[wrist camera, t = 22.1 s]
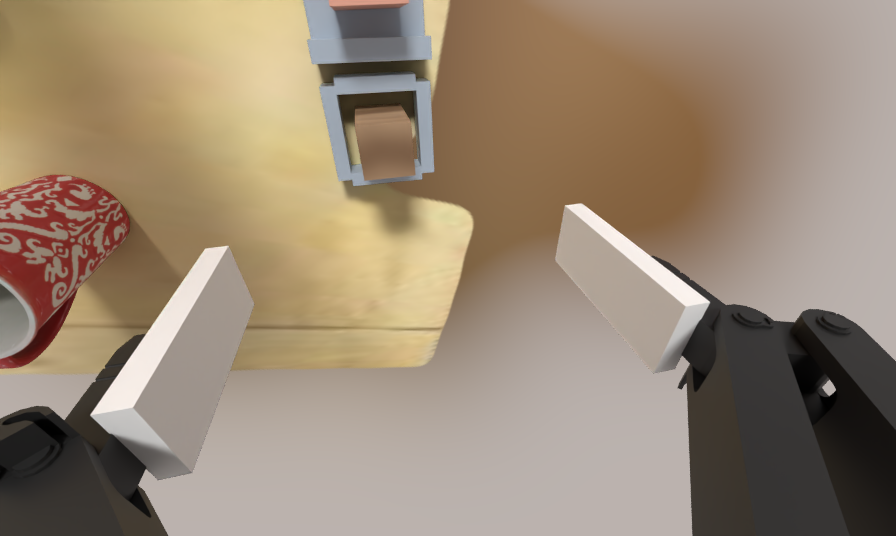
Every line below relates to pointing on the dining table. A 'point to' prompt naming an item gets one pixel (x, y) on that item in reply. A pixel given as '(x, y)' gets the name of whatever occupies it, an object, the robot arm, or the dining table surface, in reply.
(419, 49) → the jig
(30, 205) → the mug
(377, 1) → the tall salmon pink prism
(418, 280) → the dining table surface
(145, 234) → the dining table surface
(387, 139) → the brown wooden block
